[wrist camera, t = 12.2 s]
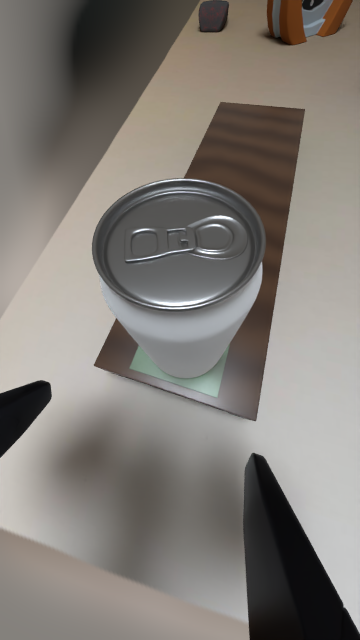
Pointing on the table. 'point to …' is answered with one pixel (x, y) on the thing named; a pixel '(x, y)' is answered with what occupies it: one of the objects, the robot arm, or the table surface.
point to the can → (180, 269)
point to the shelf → (273, 208)
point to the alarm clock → (305, 18)
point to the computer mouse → (213, 15)
